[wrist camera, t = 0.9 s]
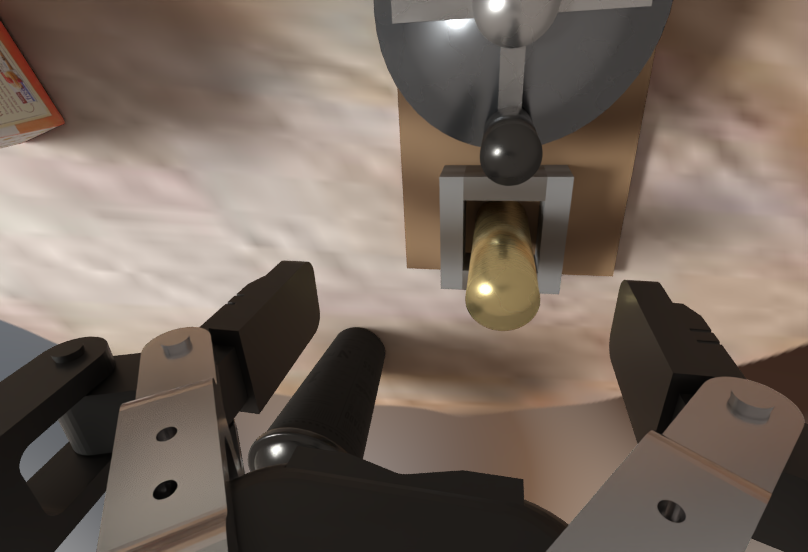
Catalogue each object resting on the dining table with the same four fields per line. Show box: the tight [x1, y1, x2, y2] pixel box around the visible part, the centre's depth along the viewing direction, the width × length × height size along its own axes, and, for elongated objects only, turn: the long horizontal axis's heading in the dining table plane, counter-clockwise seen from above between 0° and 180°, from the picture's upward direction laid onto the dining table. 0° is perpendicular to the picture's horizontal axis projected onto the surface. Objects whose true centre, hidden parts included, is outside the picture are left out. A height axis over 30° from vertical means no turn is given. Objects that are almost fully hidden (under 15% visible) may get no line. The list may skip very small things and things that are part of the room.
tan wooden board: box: [397, 47, 656, 294], centre depth 27 cm, size 23×15×4 cm, turn 3°
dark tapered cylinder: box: [248, 328, 385, 472], centre depth 32 cm, size 8×8×20 cm
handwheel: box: [374, 0, 673, 186], centre depth 19 cm, size 14×14×8 cm
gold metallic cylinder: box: [465, 201, 540, 331], centre depth 27 cm, size 4×4×11 cm
